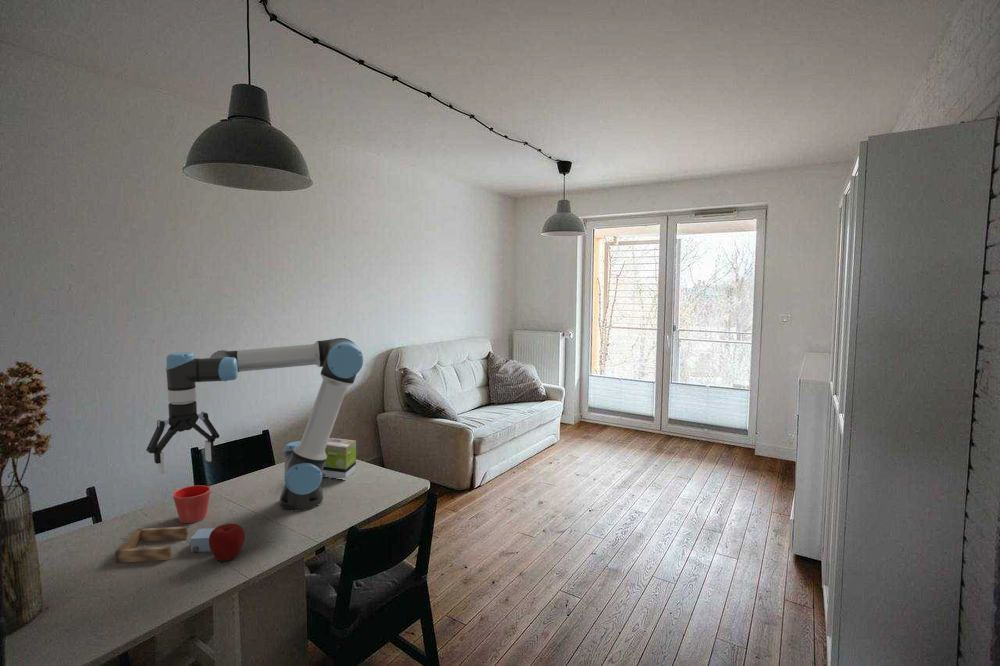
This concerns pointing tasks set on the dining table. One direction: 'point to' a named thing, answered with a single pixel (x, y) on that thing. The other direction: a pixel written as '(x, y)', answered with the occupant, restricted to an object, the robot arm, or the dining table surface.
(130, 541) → the bay
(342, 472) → the tea box
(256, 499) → the dining table surface
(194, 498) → the flower pot
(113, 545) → the dining table surface
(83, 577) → the dining table surface
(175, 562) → the dining table surface
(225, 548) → the apple
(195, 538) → the block
